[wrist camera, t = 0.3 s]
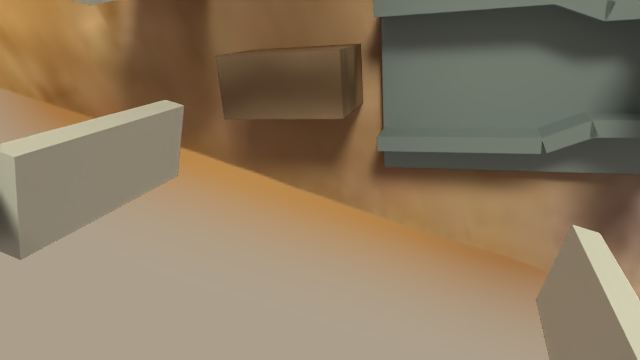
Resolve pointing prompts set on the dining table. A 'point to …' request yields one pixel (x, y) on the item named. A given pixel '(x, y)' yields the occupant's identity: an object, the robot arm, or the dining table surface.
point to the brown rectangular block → (291, 82)
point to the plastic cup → (93, 1)
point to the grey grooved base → (511, 85)
